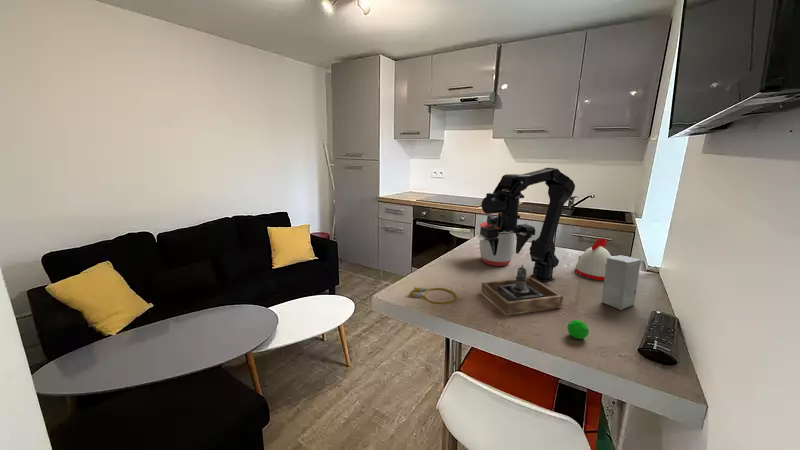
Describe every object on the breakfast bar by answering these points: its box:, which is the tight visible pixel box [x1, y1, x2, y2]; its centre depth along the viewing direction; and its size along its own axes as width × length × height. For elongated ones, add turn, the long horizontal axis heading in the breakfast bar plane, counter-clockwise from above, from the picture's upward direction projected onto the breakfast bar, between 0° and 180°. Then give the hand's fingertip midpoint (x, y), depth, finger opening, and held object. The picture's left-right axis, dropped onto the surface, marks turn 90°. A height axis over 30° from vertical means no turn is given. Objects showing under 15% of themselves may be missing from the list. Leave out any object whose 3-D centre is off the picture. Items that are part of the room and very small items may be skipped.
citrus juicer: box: [477, 221, 517, 267], centre depth 142 cm, size 16×17×20 cm
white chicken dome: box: [574, 237, 612, 281], centre depth 130 cm, size 14×14×15 cm
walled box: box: [480, 276, 564, 316], centre depth 108 cm, size 20×16×4 cm
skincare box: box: [601, 254, 642, 311], centre depth 104 cm, size 8×7×16 cm
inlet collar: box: [498, 284, 544, 302], centre depth 108 cm, size 10×10×3 cm
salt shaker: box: [511, 265, 530, 297], centre depth 107 cm, size 6×6×12 cm
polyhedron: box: [566, 319, 590, 340], centre depth 87 cm, size 5×5×5 cm
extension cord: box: [408, 286, 458, 305], centre depth 112 cm, size 12×16×2 cm
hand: (505, 254), depth 115 cm, fingers open, 9 cm apart
